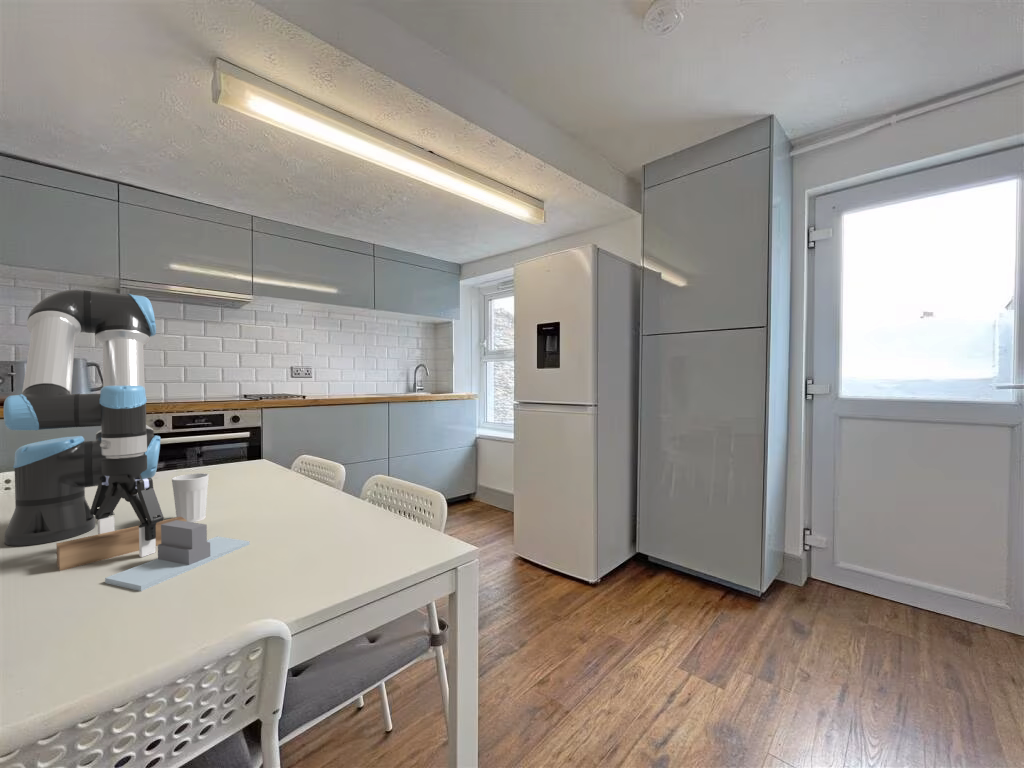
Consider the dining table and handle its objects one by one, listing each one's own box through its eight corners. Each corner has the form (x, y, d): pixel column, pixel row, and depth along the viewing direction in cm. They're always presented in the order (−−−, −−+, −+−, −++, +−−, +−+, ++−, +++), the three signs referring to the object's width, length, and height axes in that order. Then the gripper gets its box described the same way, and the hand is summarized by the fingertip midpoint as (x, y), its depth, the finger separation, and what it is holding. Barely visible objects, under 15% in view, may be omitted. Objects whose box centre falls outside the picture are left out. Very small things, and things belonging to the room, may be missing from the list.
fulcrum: (105, 583, 81) (104, 541, 81) (217, 540, 102) (216, 506, 102) (141, 591, 78) (140, 547, 78) (249, 545, 99) (249, 511, 99)
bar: (57, 567, 89) (56, 543, 88) (181, 536, 105) (180, 516, 105) (60, 572, 86) (59, 548, 86) (186, 540, 103) (186, 519, 103)
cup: (169, 528, 111) (168, 481, 110) (176, 518, 118) (175, 475, 117) (206, 523, 114) (206, 477, 114) (211, 514, 121) (210, 471, 121)
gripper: (67, 455, 96) (69, 549, 96) (144, 461, 88) (146, 565, 88) (108, 449, 103) (110, 537, 103) (182, 455, 95) (184, 551, 95)
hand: (126, 550), depth 96 cm, fingers open, 13 cm apart
